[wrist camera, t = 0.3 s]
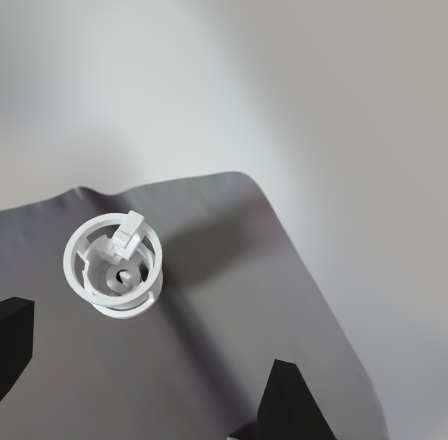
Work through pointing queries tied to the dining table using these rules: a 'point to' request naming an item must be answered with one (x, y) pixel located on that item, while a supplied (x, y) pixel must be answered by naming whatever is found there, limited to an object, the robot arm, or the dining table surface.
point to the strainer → (116, 264)
